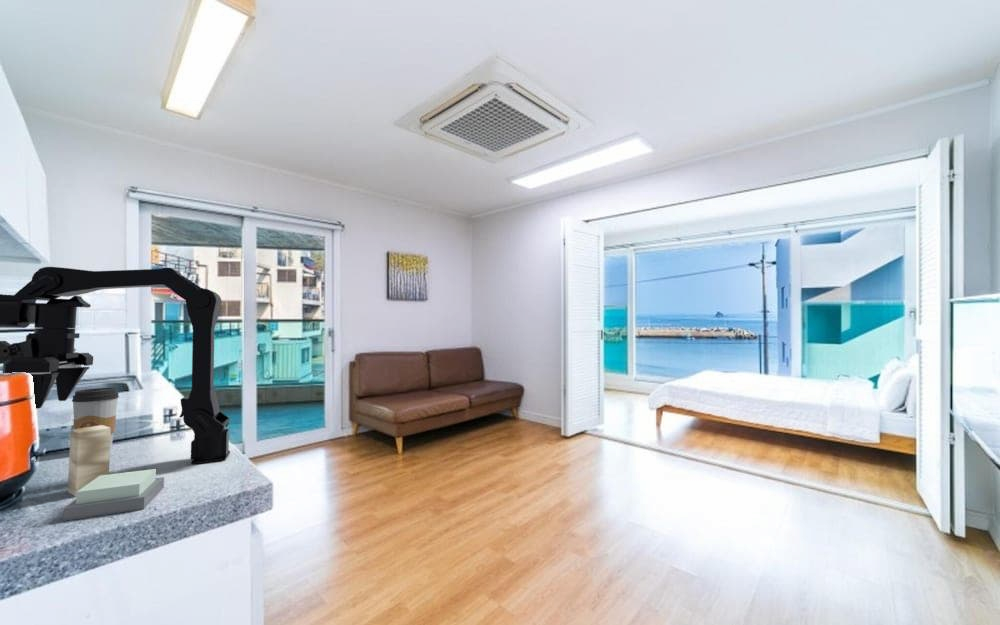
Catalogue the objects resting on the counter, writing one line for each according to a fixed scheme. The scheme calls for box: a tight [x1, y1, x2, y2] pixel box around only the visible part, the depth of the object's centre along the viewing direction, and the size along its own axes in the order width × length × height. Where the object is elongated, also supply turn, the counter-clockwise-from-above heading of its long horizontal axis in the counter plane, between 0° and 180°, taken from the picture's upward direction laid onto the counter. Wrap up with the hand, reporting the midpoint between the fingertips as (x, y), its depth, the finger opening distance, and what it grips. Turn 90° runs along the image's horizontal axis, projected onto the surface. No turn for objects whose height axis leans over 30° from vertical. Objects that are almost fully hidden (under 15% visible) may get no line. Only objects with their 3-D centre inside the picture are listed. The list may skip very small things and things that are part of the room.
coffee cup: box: [71, 387, 120, 447], centre depth 100 cm, size 8×8×15 cm
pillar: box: [67, 425, 111, 497], centre depth 76 cm, size 4×4×12 cm
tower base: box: [63, 468, 165, 522], centre depth 70 cm, size 10×10×4 cm
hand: (50, 404), depth 82 cm, fingers open, 9 cm apart
